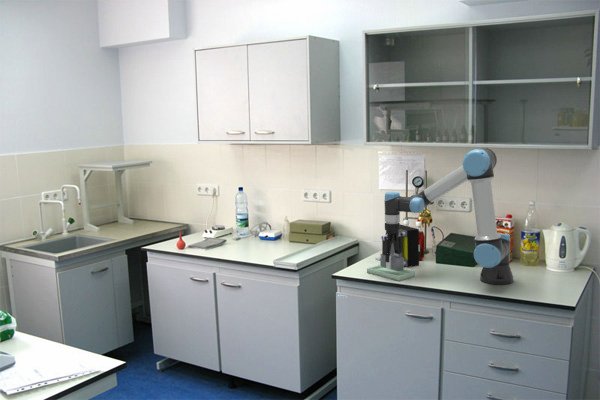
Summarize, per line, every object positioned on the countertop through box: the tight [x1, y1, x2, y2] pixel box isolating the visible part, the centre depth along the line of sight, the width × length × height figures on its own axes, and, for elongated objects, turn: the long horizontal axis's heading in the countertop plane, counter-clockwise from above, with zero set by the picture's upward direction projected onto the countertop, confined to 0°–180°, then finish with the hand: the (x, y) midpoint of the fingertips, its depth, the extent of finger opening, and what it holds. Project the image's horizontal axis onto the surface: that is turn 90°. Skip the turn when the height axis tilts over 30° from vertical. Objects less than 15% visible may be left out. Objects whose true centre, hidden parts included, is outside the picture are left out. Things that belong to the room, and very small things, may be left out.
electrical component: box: [390, 223, 420, 268], centre depth 309 cm, size 18×10×20 cm, turn 25°
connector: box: [375, 253, 405, 271], centre depth 287 cm, size 17×5×6 cm, turn 39°
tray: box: [366, 264, 416, 282], centre depth 288 cm, size 22×12×2 cm, turn 39°
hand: (392, 267), depth 286 cm, fingers closed on connector, 5 cm apart
